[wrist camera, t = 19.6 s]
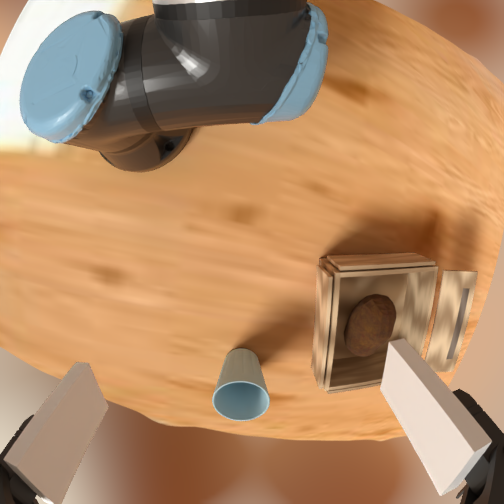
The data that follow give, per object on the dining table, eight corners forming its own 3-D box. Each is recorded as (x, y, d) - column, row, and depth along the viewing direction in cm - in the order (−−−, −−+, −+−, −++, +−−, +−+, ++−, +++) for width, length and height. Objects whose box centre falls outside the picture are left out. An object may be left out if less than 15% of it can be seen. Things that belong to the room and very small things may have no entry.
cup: (259, 337, 43) (263, 376, 33) (269, 374, 45) (274, 415, 35) (213, 346, 44) (205, 386, 34) (226, 382, 45) (222, 424, 35)
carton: (314, 253, 41) (329, 267, 33) (411, 250, 41) (439, 261, 33) (308, 366, 45) (318, 395, 37) (395, 354, 45) (415, 377, 37)
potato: (329, 336, 43) (344, 362, 35) (353, 280, 41) (374, 298, 34) (367, 344, 44) (385, 368, 36) (390, 291, 42) (415, 309, 34)
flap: (443, 270, 33) (477, 272, 31) (442, 269, 34) (476, 271, 32) (422, 372, 36) (453, 371, 34) (421, 370, 37) (452, 369, 35)
